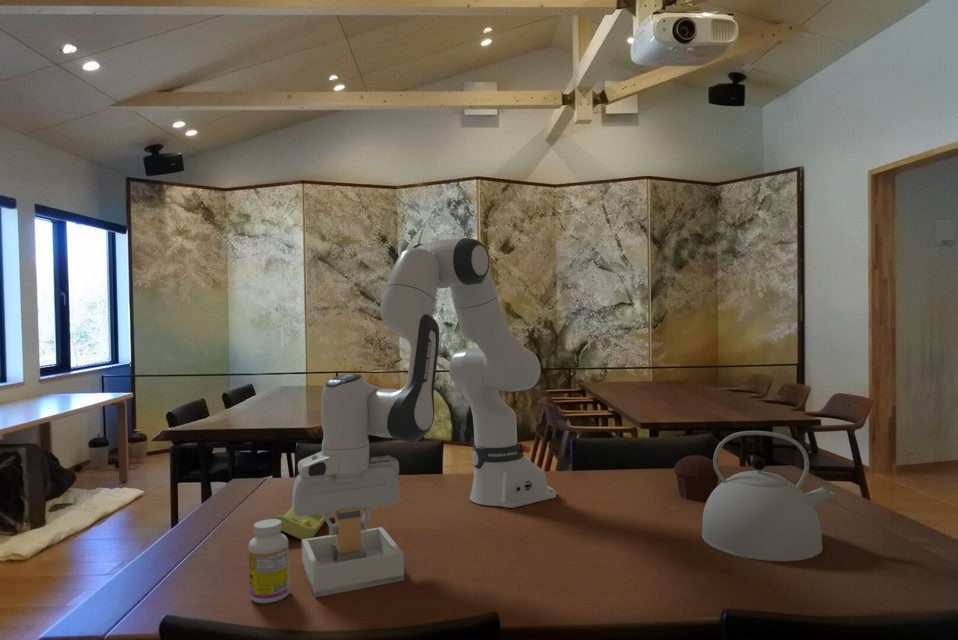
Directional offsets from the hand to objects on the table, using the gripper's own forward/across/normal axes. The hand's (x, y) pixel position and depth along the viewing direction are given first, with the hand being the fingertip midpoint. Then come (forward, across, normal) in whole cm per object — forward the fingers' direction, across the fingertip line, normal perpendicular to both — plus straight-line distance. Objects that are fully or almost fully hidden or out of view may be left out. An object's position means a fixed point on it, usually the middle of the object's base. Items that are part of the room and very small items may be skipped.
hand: (347, 532), depth 124 cm
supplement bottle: (+7, +15, +6) cm, 18 cm away
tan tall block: (+3, 0, 0) cm, 3 cm away
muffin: (+7, -90, -7) cm, 91 cm away
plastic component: (+7, +5, -30) cm, 31 cm away
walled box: (+7, 0, +2) cm, 7 cm away
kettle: (+7, -81, +24) cm, 85 cm away
